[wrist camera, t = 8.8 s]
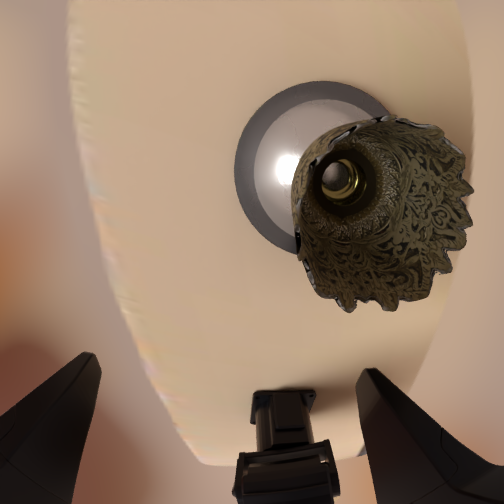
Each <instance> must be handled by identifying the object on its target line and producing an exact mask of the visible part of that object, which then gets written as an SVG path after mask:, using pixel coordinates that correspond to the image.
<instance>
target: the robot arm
mask: <svg viewBox="0 0 504 504" xmlns="http://www.w3.org/2000/svg"><path fill="white" fill-rule="evenodd" d="M101 373H102V372H101V367H100V365H99V362H98V360H97V357H96V355H95V354H93V353H90V352H83V353H81V354H80V355H78V356H77V357H76V358H74V359H73V360H72V361H70V362H69V363H68V364H66V365H65V366H64V367H63V368H61V369H60V370H59V371H57V372H56V373H55V374H53V375H52V376H51V377H50V378H48V379H47V380H46V381H44V382H43V383H42V384H41V385H39V386H38V387H37V388H36V389H34V390H33V391H32V392H30V393H29V394H28V395H27V396H25V397H24V398H23V399H22V400H20V401H19V402H18V403H16V405H14V406H13V407H11V408H10V409H9V410H8V411H6V412H5V413H4V414H2V415H1V416H0V504H71V503H72V498H73V493H74V488H75V483H76V478H77V474H78V470H79V465H80V461H81V457H82V453H83V449H84V445H85V442H86V438H87V434H88V431H89V427H90V424H91V421H92V417H93V413H94V409H95V404H96V399H97V394H98V388H99V384H100V379H101ZM356 394H357V402H358V409H359V418H360V425H361V430H362V434H363V438H364V442H365V447H366V451H367V456H368V460H369V465H370V469H371V474H372V479H373V484H374V489H375V494H376V500H377V504H504V466H499V465H495V464H492V463H489V462H488V461H486V460H484V459H483V458H482V457H480V456H479V455H477V454H476V453H474V452H473V451H471V450H470V449H469V448H467V447H466V446H465V445H463V444H462V443H461V442H459V441H458V440H457V439H455V438H454V437H453V436H452V435H451V434H449V433H448V432H447V431H446V430H445V429H444V428H442V427H441V426H440V425H439V424H438V423H437V422H436V421H435V420H433V418H431V417H430V416H429V415H428V414H427V413H426V412H425V411H424V410H422V409H421V408H420V407H419V406H418V405H417V404H416V403H415V402H413V401H412V400H411V399H410V398H409V397H408V396H407V395H406V394H405V393H403V392H402V391H401V390H400V389H399V388H398V387H397V386H396V385H395V384H393V383H392V382H391V381H390V380H389V379H388V378H387V377H386V376H385V375H383V374H382V373H381V372H380V371H379V370H378V369H377V368H374V367H373V368H365V369H364V370H363V371H362V373H361V375H360V377H359V379H358V381H357V383H356ZM315 397H316V392H315V391H314V390H306V391H285V392H255V393H254V394H253V398H252V407H251V417H250V423H251V424H254V425H256V438H257V452H249V453H245V452H240V453H239V459H237V468H236V476H235V482H234V486H233V489H232V495H233V496H235V497H236V499H237V502H238V504H334V499H333V497H337V496H340V484H339V478H338V472H337V468H336V465H335V460H334V456H333V452H332V448H331V445H330V441H329V439H327V440H324V441H322V442H317V443H314V437H313V432H312V426H311V421H310V416H309V412H310V410H311V407H312V405H313V402H314V400H315ZM324 460H325V462H323V463H321V461H324Z"/></svg>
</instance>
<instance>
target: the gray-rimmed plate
mask: <svg viewBox="0 0 504 504" xmlns="http://www.w3.org/2000/svg"><path fill="white" fill-rule="evenodd" d="M386 115H390V113H389V112H388V111H387V110H386V109H385V108H384V107H383V106H382V105H381V104H380V103H379V102H378V101H377V100H375V99H374V98H373V97H372V96H370V95H368V94H367V93H365V92H363V91H362V90H359V89H357V88H355V87H352V86H350V85H346V84H342V83H338V82H330V81H313V82H308V83H302V84H299V85H296V86H293V87H290V88H288V89H286V90H284V91H282V92H280V93H278V94H276V95H275V96H273V97H272V98H270V99H269V100H268V101H266V102H265V103H264V104H263V105H262V106H261V107H260V108H259V109H258V110H257V111H256V112H255V113H254V115H253V116H252V117H251V118H250V120H249V121H248V123H247V125H246V126H245V128H244V130H243V132H242V135H241V137H240V140H239V143H238V147H237V151H236V156H235V165H234V177H235V185H236V191H237V195H238V198H239V201H240V204H241V206H242V208H243V210H244V212H245V214H246V216H247V217H248V219H249V221H250V222H251V224H252V225H253V226H254V227H255V228H256V229H257V231H258V232H259V233H260V234H261V235H262V236H264V237H265V238H266V239H267V240H268V241H270V242H271V243H273V244H274V245H276V246H277V247H279V248H281V249H283V250H285V251H287V252H290V253H293V254H296V255H297V253H296V241H295V233H294V226H293V218H292V209H291V185H292V179H293V175H294V171H295V168H296V166H297V164H298V162H299V159H300V158H301V156H302V155H303V153H304V151H305V150H306V149H307V148H308V146H309V145H310V144H311V143H312V142H313V141H314V140H316V139H317V138H318V137H319V136H321V135H322V134H324V133H326V132H327V131H329V130H331V129H333V128H336V127H338V126H341V125H344V124H348V123H352V122H356V121H361V120H366V119H372V118H376V117H380V116H386ZM348 178H349V174H348V170H347V169H346V167H345V166H344V165H342V164H340V163H332V164H331V165H330V166H329V167H328V168H327V169H326V170H325V172H324V174H323V178H322V179H323V182H324V184H325V186H326V187H328V188H329V189H331V190H339V189H341V188H343V187H344V186H345V185H346V184H347V182H348Z"/></svg>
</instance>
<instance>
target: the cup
mask: <svg viewBox="0 0 504 504" xmlns="http://www.w3.org/2000/svg"><path fill="white" fill-rule="evenodd" d="M396 117H397V115H386V116H380V117H376V118H372V119H366V120H361V121H356V122H352V123H348V124H344V125H341V126H338V127H336V128H333V129H331V130H329V131H327V132H326V133H324V134H322V135H321V136H319V137H318V138H317V139H316V140H314V141H313V142H312V143H311V144H310V145H309V146H308V148H307V149H306V150H305V151H304V153H303V155H302V156H301V158H300V159H299V162H298V164H297V166H296V168H295V171H294V175H293V179H292V185H291V209H292V218H293V226H294V233H295V241H296V253H297V258H298V260H299V261H301V260H302V262H303V265H304V267H305V270H306V273H307V276H308V278H309V281H310V283H311V285H312V287H313V288H314V290H315V292H316V293H317V294H318V295H319V296H320V297H322V298H325V299H335V301H336V303H337V304H338V306H339V307H340V308H342V309H343V310H344V311H345V312H347V313H351V312H353V311H354V309H356V308H357V307H356V306H357V304H356V303H357V300H360V301H362V302H363V303H368V302H369V301H372V300H375V301H376V302H378V303H379V304H380V305H381V307H382V309H383V310H384V311H392V312H394V311H396V310H397V308H398V305H399V300H403V301H407V302H412V301H417V300H421V299H424V298H426V297H428V295H429V293H430V290H431V287H432V283H433V277H434V275H435V273H437V272H435V271H438V272H440V273H442V274H447V273H451V272H452V269H453V267H452V263H451V261H450V259H449V257H448V254H447V251H459V250H461V249H462V248H464V246H465V245H466V242H467V240H466V233H465V231H464V229H466V228H468V227H471V226H472V225H473V222H472V219H471V217H470V215H469V213H468V211H467V209H466V204H465V203H464V202H463V201H462V200H461V199H460V198H462V197H465V196H468V195H470V194H473V193H474V189H473V188H472V187H471V186H470V185H469V184H468V183H467V182H466V181H465V180H464V179H463V178H462V173H463V170H464V169H465V158H466V157H465V155H464V154H463V152H462V151H461V150H460V149H459V148H457V147H456V146H455V145H453V144H452V143H451V142H450V141H449V140H448V139H446V138H445V137H444V134H445V133H444V132H443V131H442V130H441V129H440V128H439V127H437V126H434V125H430V124H425V125H424V124H416V123H414V122H411V121H409V120H408V119H405V118H396ZM332 163H340V164H342V165H344V166H345V167H346V169H347V170H348V174H349V178H348V182H347V184H346V185H345V186H344V187H343V188H341V189H339V190H331V189H329V188H328V187H326V186H325V184H324V182H323V179H322V178H323V174H324V172H325V170H326V169H327V168H328V167H329V166H330V165H331V164H332ZM446 249H447V250H446ZM445 250H446V253H445ZM446 255H447V256H446ZM447 257H448V258H447ZM439 275H440V274H439ZM354 300H355V301H354Z"/></svg>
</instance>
